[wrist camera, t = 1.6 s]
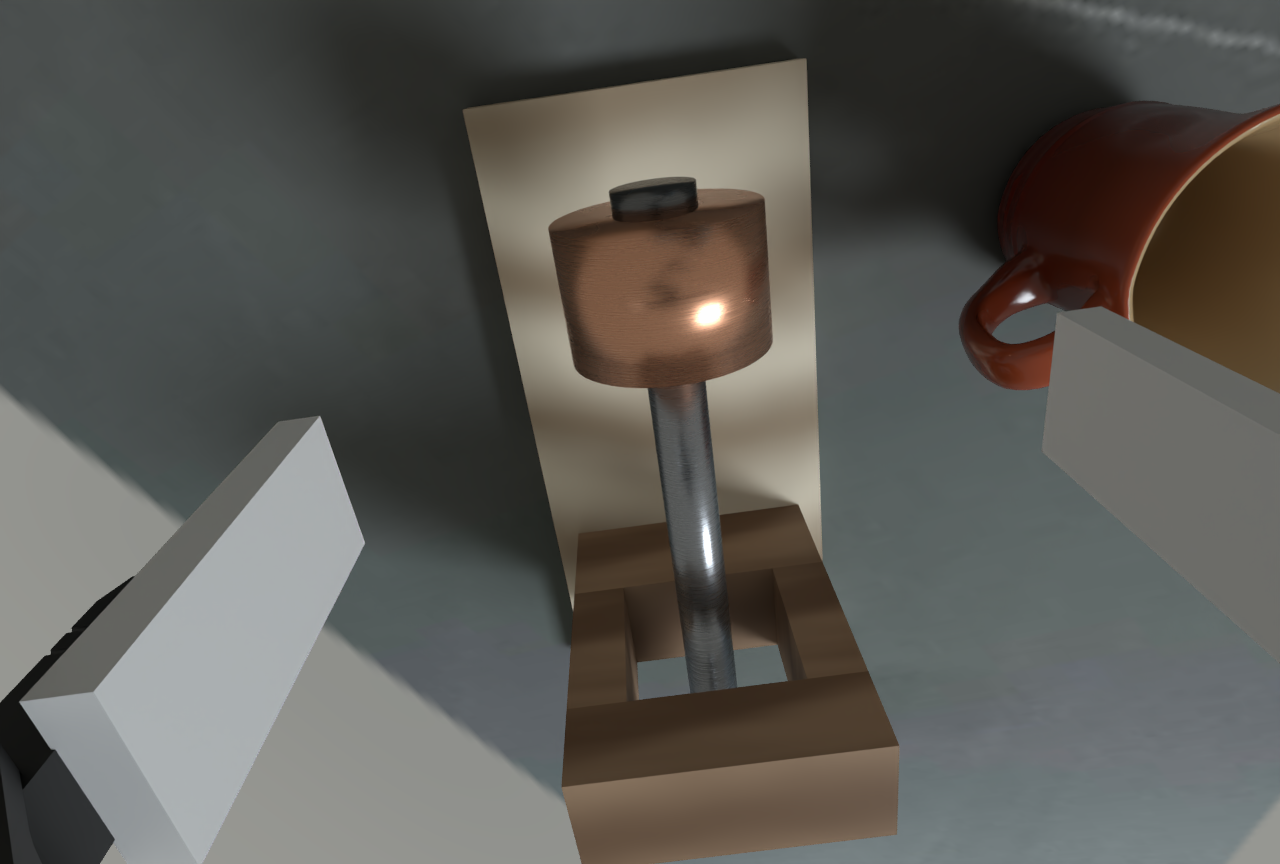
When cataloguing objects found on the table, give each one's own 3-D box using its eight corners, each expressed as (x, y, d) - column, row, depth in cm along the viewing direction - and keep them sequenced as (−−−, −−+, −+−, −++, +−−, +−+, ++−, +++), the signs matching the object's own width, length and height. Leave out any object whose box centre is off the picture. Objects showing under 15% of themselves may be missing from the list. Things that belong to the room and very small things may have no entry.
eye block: (578, 533, 34) (561, 787, 22) (798, 504, 34) (899, 745, 22) (592, 603, 36) (584, 871, 24) (801, 575, 36) (896, 834, 24)
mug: (1167, 29, 27) (1451, 16, 18) (1213, 242, 31) (1472, 322, 21) (857, 202, 29) (969, 269, 20) (933, 382, 33) (1058, 508, 24)
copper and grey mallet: (551, 184, 23) (533, 222, 18) (744, 156, 23) (784, 187, 18) (649, 732, 34) (657, 858, 29) (782, 716, 34) (814, 839, 29)
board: (468, 107, 27) (462, 109, 26) (798, 58, 27) (806, 58, 26) (586, 651, 39) (585, 668, 38) (818, 621, 39) (824, 637, 38)
